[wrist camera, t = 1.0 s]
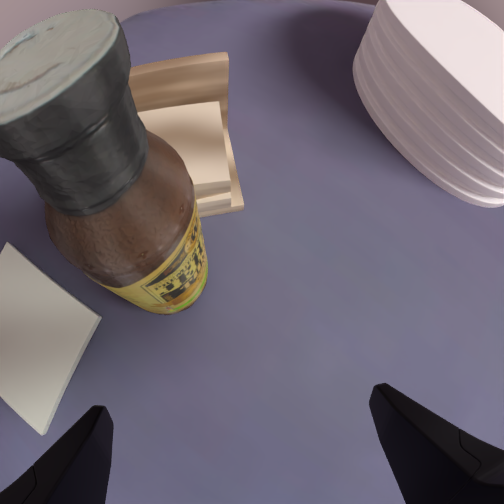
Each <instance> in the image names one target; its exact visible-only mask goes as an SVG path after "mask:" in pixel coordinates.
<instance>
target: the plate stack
mask: <svg viewBox="0 0 504 504" xmlns="http://www.w3.org/2000/svg"><path fill="white" fill-rule="evenodd" d="M353 78H354V82H355V86H356V89H357V91H358V94H359V96H360V98H361V100H362V102H363V104H364V106H365V108H366V110H367V111H368V113H369V115H370V116H371V118H372V119H373V121H374V122H375V124H376V125H377V126H378V128H379V129H380V130H381V132H382V133H383V134H384V135H385V137H386V138H387V139H388V140H389V141H390V142H391V144H392V145H393V146H394V147H395V148H396V149H397V150H398V151H399V152H400V153H401V154H402V155H403V156H404V157H405V158H406V159H407V160H408V161H409V162H410V163H411V164H412V165H413V166H414V167H415V168H416V169H417V170H419V171H420V172H421V173H422V174H423V175H425V176H426V177H427V178H428V179H430V180H431V181H432V182H434V183H435V184H436V185H438V186H439V187H441V188H442V189H444V190H445V191H447V192H448V193H450V194H452V195H454V196H455V197H457V198H459V199H461V200H463V201H466V202H468V203H471V204H474V205H477V206H482V207H499V206H503V205H504V31H503V30H502V29H501V28H499V27H498V26H497V25H496V24H495V23H493V22H492V21H491V20H490V19H488V18H487V17H486V16H484V15H483V14H481V13H480V12H479V11H477V10H476V9H474V8H473V7H471V6H469V5H468V4H466V3H464V2H463V1H461V0H379V1H378V3H377V5H376V7H375V10H374V12H373V16H372V18H371V20H370V22H369V24H368V27H367V30H366V32H365V34H364V36H363V38H362V41H361V43H360V47H359V48H358V50H357V53H356V55H355V57H354V61H353Z"/></svg>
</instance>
